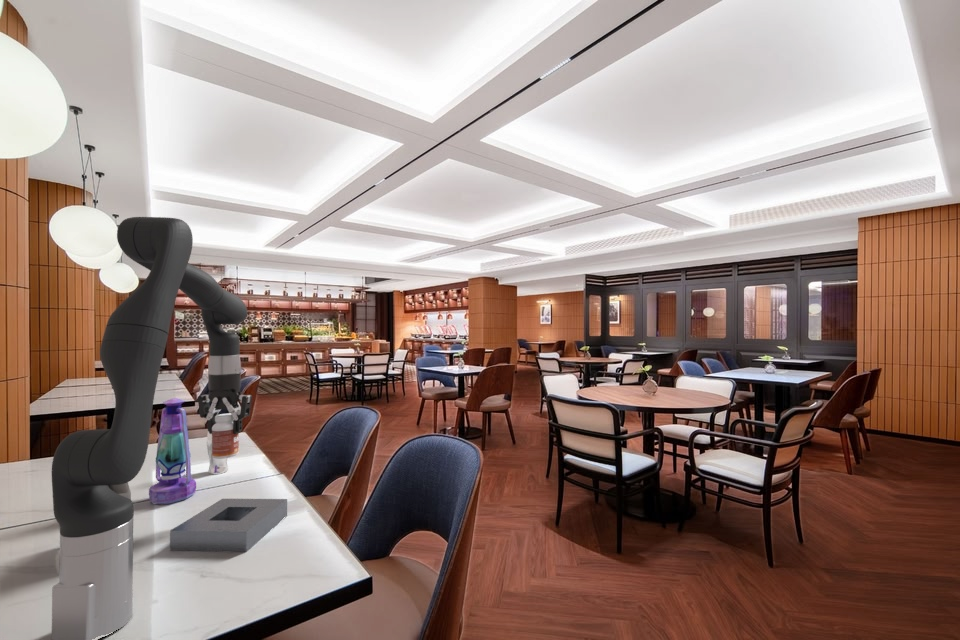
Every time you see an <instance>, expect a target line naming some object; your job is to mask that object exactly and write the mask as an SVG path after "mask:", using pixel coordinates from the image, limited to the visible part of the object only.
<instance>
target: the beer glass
mask: <svg viewBox="0 0 960 640" xmlns="http://www.w3.org/2000/svg"><path fill="white" fill-rule="evenodd" d="M206 450H207V455H208V459H209V461H208V462H209V466H208V472H207V473H208V475H211V474H214V475H220V474H224V473H227V472H228V471H229V466H228V458H224V459H216V458H213V457H212V434H209V432H208V431H207V435H206Z"/></svg>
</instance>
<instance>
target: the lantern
mask: <svg viewBox="0 0 960 640" xmlns="http://www.w3.org/2000/svg"><path fill="white" fill-rule="evenodd" d="M185 402H186V401H185V400H183V399H181V398H176V397H174V398H170V399H168V400H165V401H163V402H162V404H164V405H166V406H165V407H164V408H162V409H161V410H162V412H161V416H160V426H159V427H160V428H159V433H158V439H157V448H156V455H155V456H156V457H155V479H156V481H157V483H155V484H154V485H151V486H150V487H149V488H148V497H149V501H150V502H151V503H152V504H153V505H164V504H165V505H166V504H173V503H178V502H181V501H185V500H187V499H188V498H190V497H192V496H193V495H194V494H195V493H196V490H197V481H196V480H195V479H194V478H192V473H191V472H192V471H191V470H192V469H191V468H192V467H191V465H192V464H191V451H190V443H189V432H188V424H187V422H188V420H187V412H186V409H184V408H183V407H182V404H183V403H185Z"/></svg>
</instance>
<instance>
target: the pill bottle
mask: <svg viewBox="0 0 960 640" xmlns="http://www.w3.org/2000/svg"><path fill="white" fill-rule="evenodd" d="M233 421H234V418H233V416H232V414H231V413H229V412H228V413H221V414H218V415H216V416H215V422H216V424H214V425H213V427H212V457H213V458H216V459H224V458H227V459H228V458H232V457H236V456H237V455H238V454H239V453H240V452H239V450H240V449H239V447H240V446H239V442H240V440H239V434H240V433H238V434H233Z"/></svg>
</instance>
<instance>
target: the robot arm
mask: <svg viewBox="0 0 960 640" xmlns="http://www.w3.org/2000/svg"><path fill="white" fill-rule="evenodd" d="M116 232H117V233H116V239H117V243H118V246H119V247H120V250H121V251H122V252H123V253H124V255H125V256H127V257H128V258H129V259H130V260H132V261H133V262H135V263H137V264H138V265H140V266H142V267H144V268H145V269H147V270H149V271H150V272H149V274H148V276H147V277H146V278H145V280H144V281H143V282H142V283H141V284H140V285H139V286H138V287H137V288H136V289H135V290H134V291H133V292H132V293H131V294H130V295H128V296H127V297H126V299H124V300H123V301H122V302H121V303H120V304H119V305H118V306H116V307H115V309H114V311H113V312H112V313H111V314H110V315H109V318H108V320H107V323H106V325H105V329H104V333H103V336H102V340H101V343H100V349H99V358H100V361H101V365H102V368H103V370H104V373H105V374H106V376H107V379H108V381H109V382H110V384H111V387H112V389H113V390H112V391H113V393H114V398H115V399H114V400H115V403H114V404H115V407H114V413H113V417H112V418H113V420H112V424H111V427H110V428H101V429H99V428H98V429H82V430H77V431H74V432H72V433H70V434H68V435H67V436H65V438H63V439H62V440H61V441H60V443H59V444H58V446H57V447H56V449H55V452H54V455H53V458H52V462H51V487H52V488H51V489H52V503H53V504H52V505H53V506H52V507H53V508H52V509H53V515H54V518H55V520H56V521H57V523H58V525H59V559H58V560H59V566H58V568H59V569H58V573H59V574H58V583H56V584H54V585H53V586H52V588H51V590H52V591H51V640H92V639H95V638H96V637H98V636H101V635H106V634H109V633H111V632H114V631H116V630H117V631H119V630H120V629H122V628H123V627H124V626H126V624H127V623H128V622H130V620H131V619H132V618H133V612H134V611H133V609H134V608H133V606H134V605H133V604H134V603H133V597H134V595H133V594H134V593H133V591H134V588H133V587H134V586H133V584H134V514H135V513H134V509H135V508H134V502H133V500H132V499H131V500H130V499H129V498H127V497H124V496H122V495H119V494H117V493H115V492H114V491H112V490H111V489H110V488H109V487H108V485H120V484H125V483H127V482H128V483H129V482H131V481H132V480H133V479H135V477H136V476H138V474H139V473H140V471H141V469H142V467H143V465H144V463H145V461H146V457H147V453H148V448H149V442H150V436H151V435H150V434H151V433H150V432H151V426H152V424H151V423H152V418H153V417H152V414H153V406H154V400H155V394H156V388H157V384H158V378H159V374H160V369H161V364H162V362H163V357H164V354H165V350H166V346H167V342H168V337H169V332H170V326H171V321H172V316H173V314H174V309H175V308H174V307H175V304H176V300H177V296H178V293H179V291H181V292H182V293H183V294H184V295H186V296H187V297H188V299H190V300H191V301H192V302H193V303H194V304H195V305H196V306H197V307H200V308H201V309H200V314H201V318H202V321H203V324H204V326H205V330H206V333H207V338H208V342H209V345H208V346H209V349H208V350H209V351H208V354H209V355H208V356H209V358H208V366H207V367H208V368H207V369H208V370H207V371H208V375H207V376H208V391H209V394H207V393H206V394H202V395H198V397H197V400H198V410H199V411H198V412H199V417H200V418H202V419H203V418H204V419H206V421H207V433H208V432H209V434H212V427H213V425H214V424H216V422H215V416H216V415H219V412H221V411H222V410H227V411H228V413H231V414H232V416H233V418H234V421H233V434H238V433H239V434H241V432H242V430H243V420H244V418H247V417H249V416H250V415H251V408H252V407H251V405H252V397H253V396H252V394H242V393H241V387H242V361H241V357H240V356H241V355H240V353H241V352H240V351H241V350H240V348H241V347H240V345H241V344H240V343H241V342H240V336H239V334H237V333H233V332H228V331H225V330H224V328H223V326H222V325H238V324H241V323H243V322H244V321H245V320H246V318H247V316H248V308H247V305H246V303H245V302H244V301H243V299H241V298H240V297H239V296H237V295H236V294H234V293H232V292H230V291H229V290H227V289H225V288H223V287H222V286H221V284H219V282H218V281H217V280H216V279H215V278H214V277H213V276H212V275H211V274H209V273H208V272H206V271H205V270H203V269H201V268H199V267H197V266H195V265H194V264H193V265H192V264H191V263H189V260H190V257H191V254H192V250H193V241H194V240H193V232H192V229H191V226H190V225H189V224H188V223H187V222H186V221H184V220H183V219H180V218H177V217H165V216H164V217H163V216H162V217H161V216H159V217H157V216H131V217H128V218H125V219H123V220H121V222H120V223H119V225H118V227H117V230H116ZM210 402H211V405H210ZM239 402H240V403H241V404H240V403H239ZM121 627H122V628H121ZM118 629H119V630H118ZM117 631H116V632H117ZM114 633H115V632H114Z"/></svg>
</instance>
